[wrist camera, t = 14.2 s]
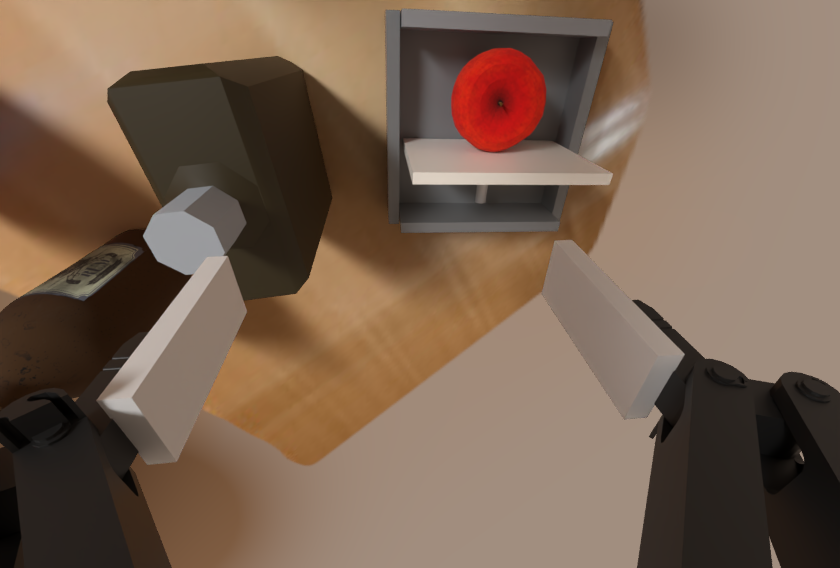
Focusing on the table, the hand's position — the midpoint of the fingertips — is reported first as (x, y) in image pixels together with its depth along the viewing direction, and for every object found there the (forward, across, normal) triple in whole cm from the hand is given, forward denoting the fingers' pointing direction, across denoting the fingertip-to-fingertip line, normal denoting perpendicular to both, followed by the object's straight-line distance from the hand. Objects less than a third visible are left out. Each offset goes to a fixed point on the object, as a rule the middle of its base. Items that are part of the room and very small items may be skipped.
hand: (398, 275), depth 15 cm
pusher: (+30, +11, -4) cm, 32 cm away
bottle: (+31, -11, -1) cm, 33 cm away
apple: (+30, +11, +3) cm, 32 cm away
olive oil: (+31, -31, -16) cm, 46 cm away
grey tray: (+31, +11, 0) cm, 33 cm away
